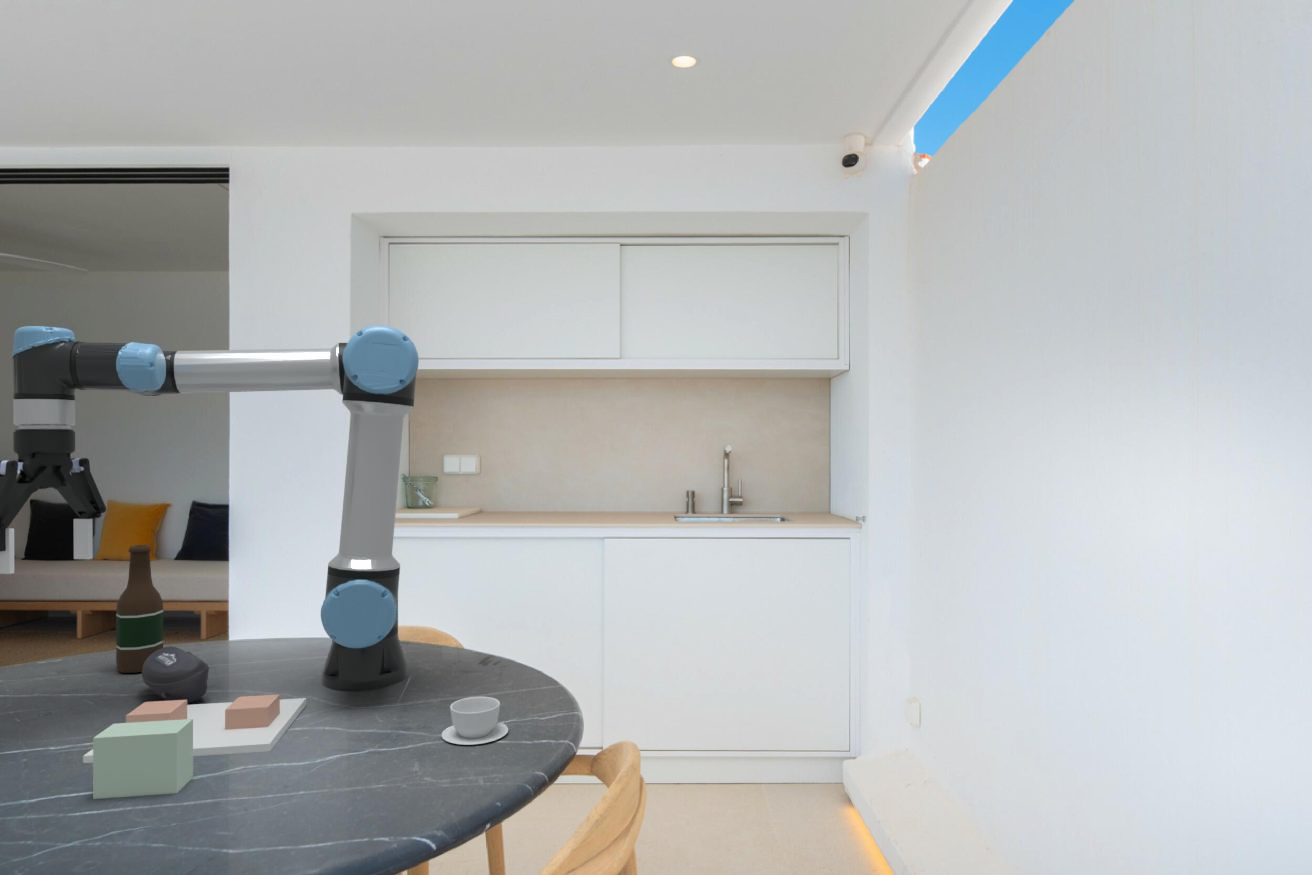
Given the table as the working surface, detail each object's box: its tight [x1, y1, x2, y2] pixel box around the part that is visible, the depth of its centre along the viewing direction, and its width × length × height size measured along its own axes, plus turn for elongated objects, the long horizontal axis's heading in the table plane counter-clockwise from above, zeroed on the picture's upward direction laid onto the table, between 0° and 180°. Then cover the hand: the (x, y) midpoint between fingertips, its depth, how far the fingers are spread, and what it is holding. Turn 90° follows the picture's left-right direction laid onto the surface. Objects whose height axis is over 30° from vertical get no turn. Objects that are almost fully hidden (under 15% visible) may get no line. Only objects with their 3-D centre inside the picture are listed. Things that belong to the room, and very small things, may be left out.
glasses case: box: [141, 645, 210, 705], centre depth 136 cm, size 18×10×8 cm, turn 49°
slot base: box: [82, 693, 307, 764], centre depth 120 cm, size 24×20×4 cm
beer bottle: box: [115, 544, 164, 674], centre depth 153 cm, size 8×8×24 cm
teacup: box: [441, 696, 510, 746], centre depth 119 cm, size 10×10×5 cm
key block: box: [92, 719, 194, 800], centre depth 100 cm, size 10×5×8 cm, turn 100°
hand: (45, 565), depth 120 cm, fingers open, 13 cm apart
